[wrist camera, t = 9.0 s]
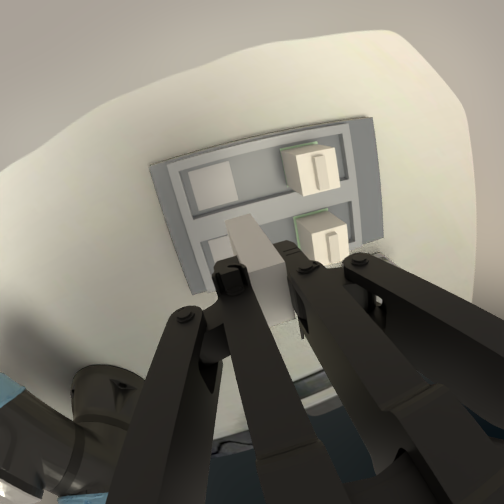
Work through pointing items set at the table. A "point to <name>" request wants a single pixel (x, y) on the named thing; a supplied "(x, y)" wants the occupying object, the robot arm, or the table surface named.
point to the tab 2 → (323, 237)
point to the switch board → (265, 192)
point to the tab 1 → (311, 169)
